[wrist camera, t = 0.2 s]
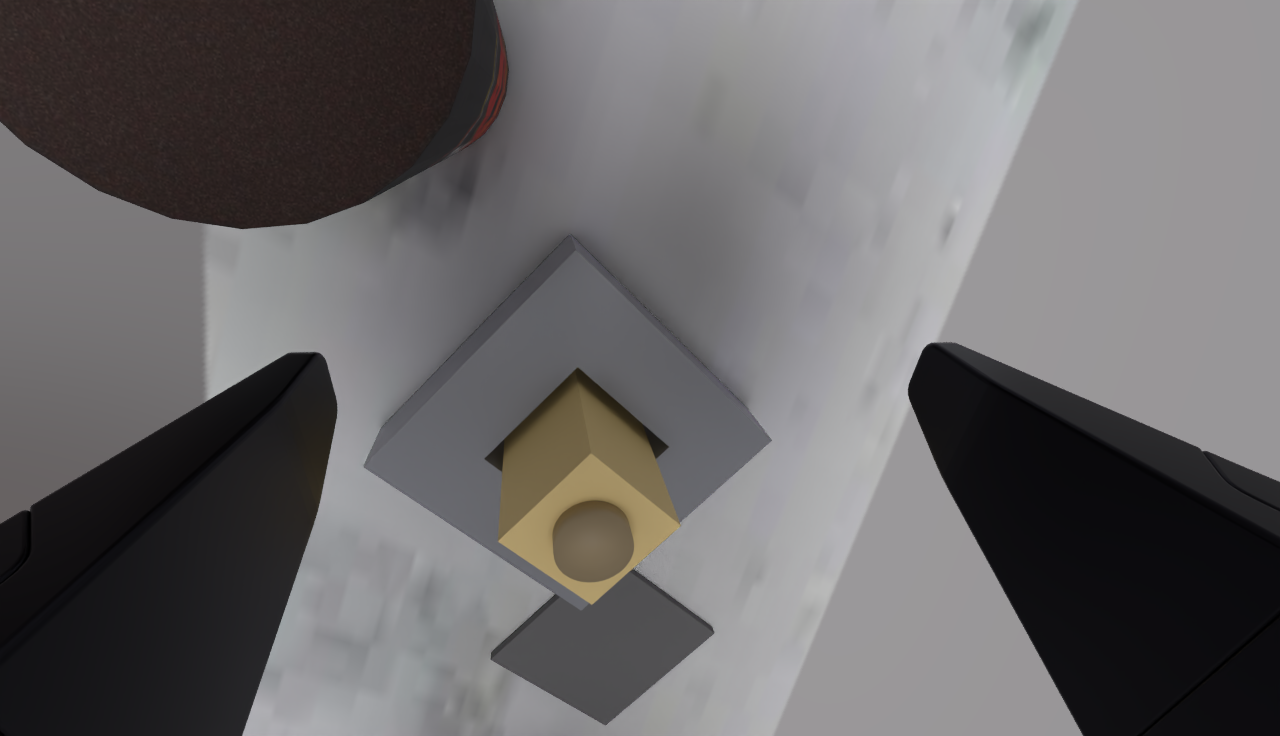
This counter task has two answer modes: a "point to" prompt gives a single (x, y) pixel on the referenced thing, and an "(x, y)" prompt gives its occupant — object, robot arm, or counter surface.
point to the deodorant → (249, 98)
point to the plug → (582, 490)
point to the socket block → (530, 371)
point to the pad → (604, 646)
